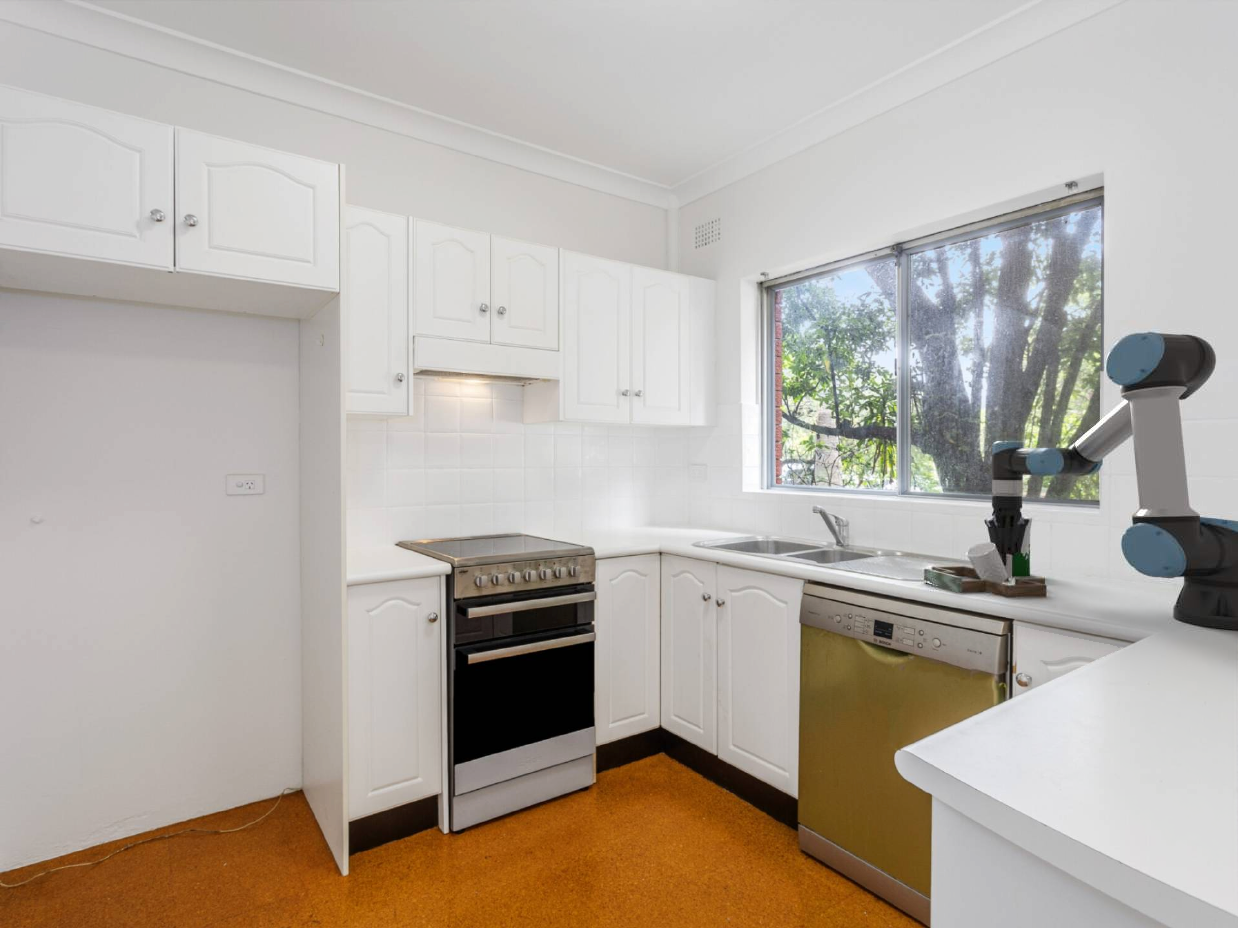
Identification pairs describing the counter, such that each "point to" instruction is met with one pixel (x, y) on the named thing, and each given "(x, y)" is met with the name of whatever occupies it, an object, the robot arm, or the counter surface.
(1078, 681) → the counter surface
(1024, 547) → the milk carton
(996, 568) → the white cup
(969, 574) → the wooden tray
